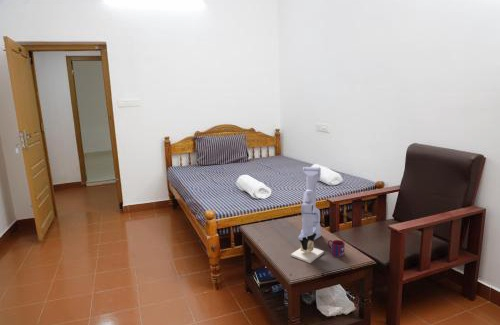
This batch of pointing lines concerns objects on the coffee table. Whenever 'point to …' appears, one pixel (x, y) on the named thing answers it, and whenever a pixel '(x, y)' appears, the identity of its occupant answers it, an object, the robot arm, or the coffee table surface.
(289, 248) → the coffee table surface
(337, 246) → the mug
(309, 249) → the maple cube
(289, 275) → the coffee table surface
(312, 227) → the robot arm
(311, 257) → the ceramic tile
